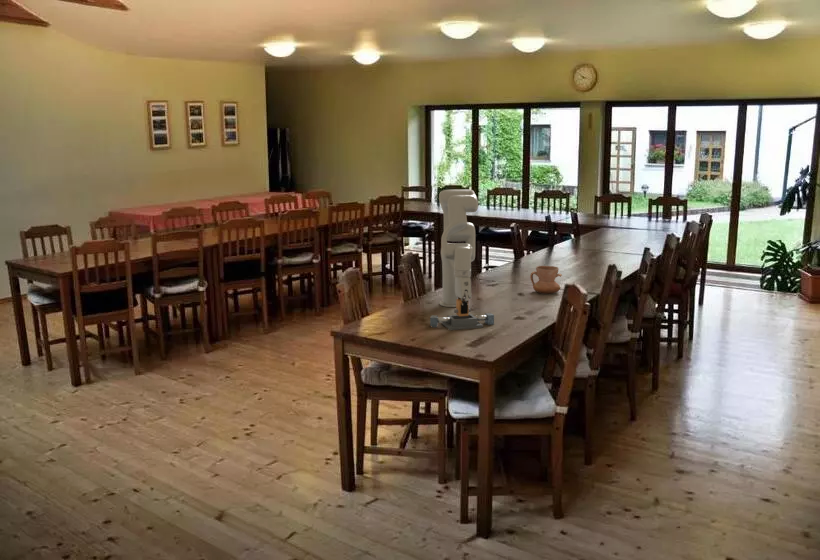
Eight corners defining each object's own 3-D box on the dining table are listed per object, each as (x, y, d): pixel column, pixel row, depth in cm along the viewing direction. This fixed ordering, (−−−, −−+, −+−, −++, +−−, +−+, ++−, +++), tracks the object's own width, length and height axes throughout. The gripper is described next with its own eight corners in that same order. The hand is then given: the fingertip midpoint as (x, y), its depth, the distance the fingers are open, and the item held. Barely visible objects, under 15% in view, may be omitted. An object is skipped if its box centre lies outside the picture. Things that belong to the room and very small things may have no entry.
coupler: (452, 314, 328) (452, 299, 326) (468, 313, 330) (468, 298, 328) (455, 316, 324) (456, 301, 322) (471, 315, 325) (471, 300, 324)
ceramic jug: (565, 291, 394) (566, 266, 391) (556, 297, 382) (557, 271, 379) (535, 288, 403) (536, 263, 400) (525, 293, 391) (525, 267, 388)
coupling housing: (442, 324, 331) (442, 315, 330) (474, 321, 335) (474, 312, 334) (449, 330, 321) (449, 321, 320) (482, 327, 325) (482, 318, 324)
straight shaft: (475, 325, 327) (475, 316, 326) (472, 323, 331) (472, 314, 330) (493, 324, 330) (494, 315, 329) (490, 322, 333) (490, 312, 333)
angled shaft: (450, 325, 328) (450, 316, 327) (449, 327, 325) (449, 318, 324) (431, 324, 330) (431, 315, 329) (430, 327, 326) (430, 317, 325)
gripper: (476, 276, 316) (476, 316, 319) (464, 269, 332) (464, 307, 335) (460, 277, 314) (460, 317, 317) (449, 270, 330) (448, 308, 333)
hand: (462, 311), depth 326 cm, fingers closed on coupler, 4 cm apart
